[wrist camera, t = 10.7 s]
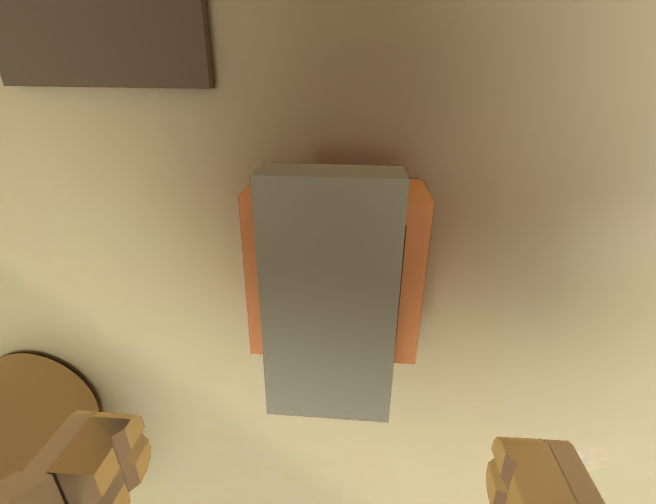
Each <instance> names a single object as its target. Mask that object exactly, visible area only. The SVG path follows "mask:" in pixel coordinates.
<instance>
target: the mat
mask: <svg viewBox="0 0 656 504" xmlns="http://www.w3.org/2000/svg"><path fill="white" fill-rule="evenodd" d="M0 74H1V77H2V81H3V84H4V86H58V87H128V88H199V89H211V88H214V81H213V70H212V59H211V49H210V38H209V28H208V17H207V6H206V0H0Z"/></svg>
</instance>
